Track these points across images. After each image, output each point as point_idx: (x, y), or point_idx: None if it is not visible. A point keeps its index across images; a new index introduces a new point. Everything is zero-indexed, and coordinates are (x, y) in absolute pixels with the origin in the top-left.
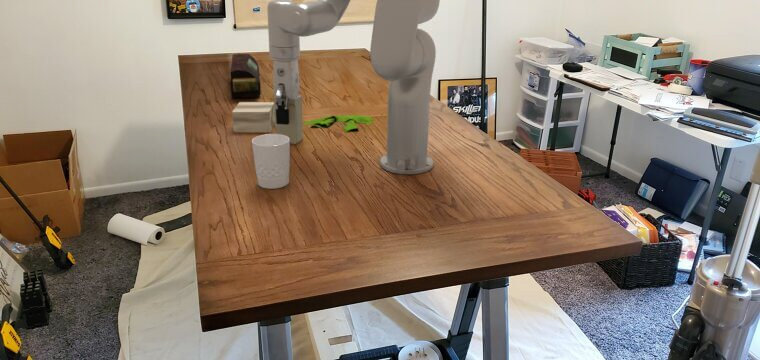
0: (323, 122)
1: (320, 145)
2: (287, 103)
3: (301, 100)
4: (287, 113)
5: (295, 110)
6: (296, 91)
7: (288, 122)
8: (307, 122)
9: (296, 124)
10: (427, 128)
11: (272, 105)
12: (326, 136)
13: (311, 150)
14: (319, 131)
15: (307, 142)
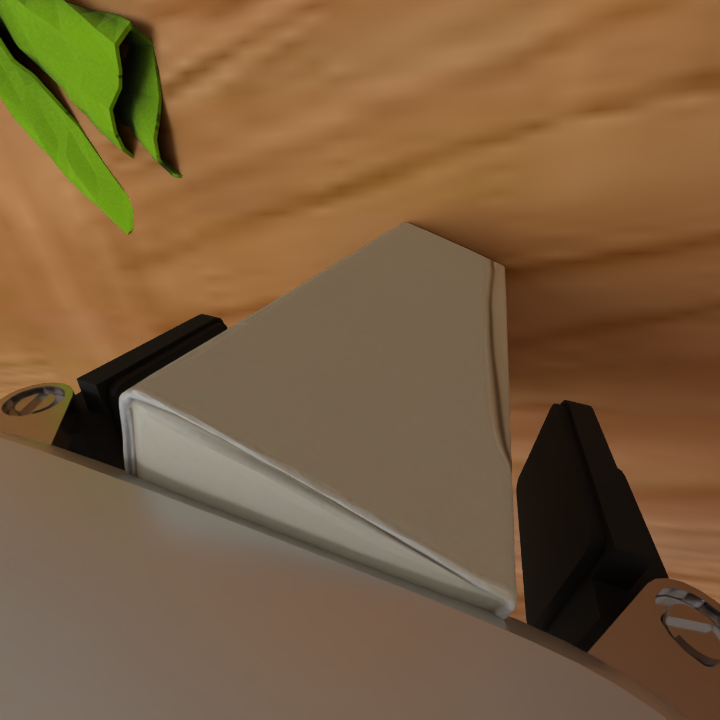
0: (89, 71)
1: (582, 33)
2: (673, 694)
3: (238, 349)
4: (624, 512)
5: (507, 405)
6: (172, 686)
7: (591, 417)
8: (108, 203)
9: (490, 310)
10: None
11: None
12: (332, 3)
13: (714, 121)
14: (227, 96)
15: (472, 178)
